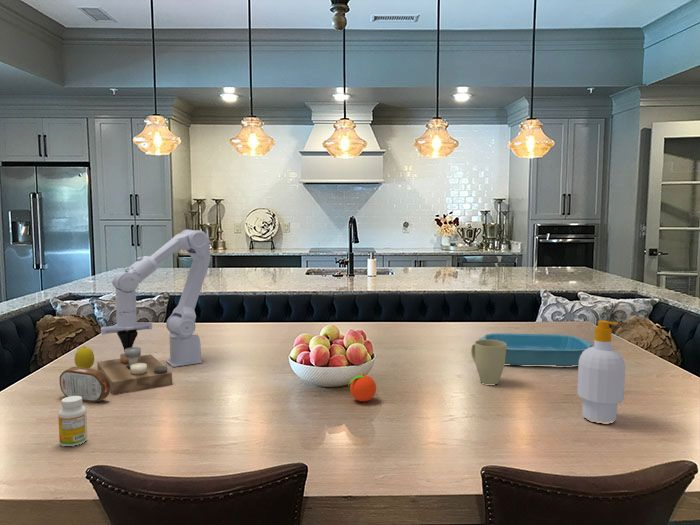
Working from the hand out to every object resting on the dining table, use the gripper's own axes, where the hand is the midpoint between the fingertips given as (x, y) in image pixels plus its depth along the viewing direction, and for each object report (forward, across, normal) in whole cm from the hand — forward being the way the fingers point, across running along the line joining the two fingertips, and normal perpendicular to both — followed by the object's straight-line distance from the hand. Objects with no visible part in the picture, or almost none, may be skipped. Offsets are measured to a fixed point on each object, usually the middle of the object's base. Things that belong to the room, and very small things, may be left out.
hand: (127, 354), depth 169 cm
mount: (+6, 0, -7) cm, 9 cm away
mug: (+6, +86, -67) cm, 109 cm away
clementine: (+6, +46, -60) cm, 76 cm away
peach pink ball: (+5, 0, 0) cm, 5 cm away
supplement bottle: (+6, -21, -47) cm, 52 cm away
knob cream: (+5, 0, -14) cm, 15 cm away
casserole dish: (+6, +118, -59) cm, 132 cm away
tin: (+6, -15, -19) cm, 25 cm away
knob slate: (+2, 0, -7) cm, 7 cm away
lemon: (+6, -11, +9) cm, 15 cm away
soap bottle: (+6, +87, -102) cm, 134 cm away
